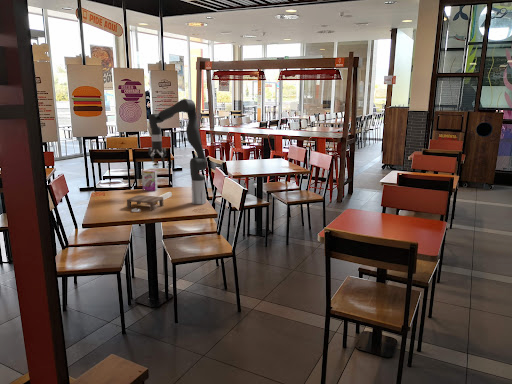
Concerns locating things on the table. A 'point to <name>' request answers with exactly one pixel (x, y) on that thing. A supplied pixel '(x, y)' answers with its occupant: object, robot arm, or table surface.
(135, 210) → the steel token
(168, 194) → the long white slat
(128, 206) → the low walnut stand
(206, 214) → the table surface
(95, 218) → the table surface
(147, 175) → the candy bar box
